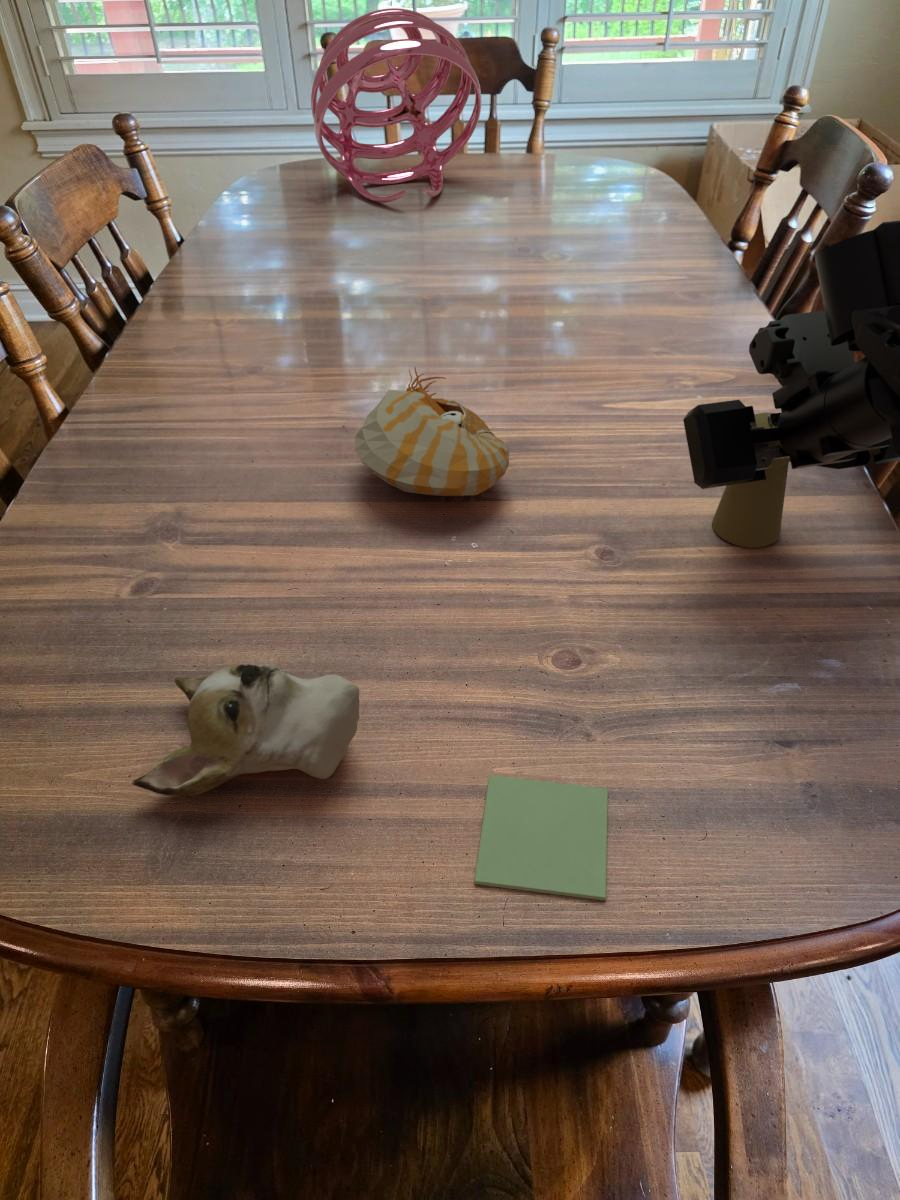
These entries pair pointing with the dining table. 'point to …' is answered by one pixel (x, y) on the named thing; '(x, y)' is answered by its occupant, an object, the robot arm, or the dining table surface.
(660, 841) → the dining table surface
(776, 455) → the robot arm
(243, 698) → the ceramic sculpture
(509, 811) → the coaster
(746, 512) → the olive pawn
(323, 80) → the spiral basket
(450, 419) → the nautilus
